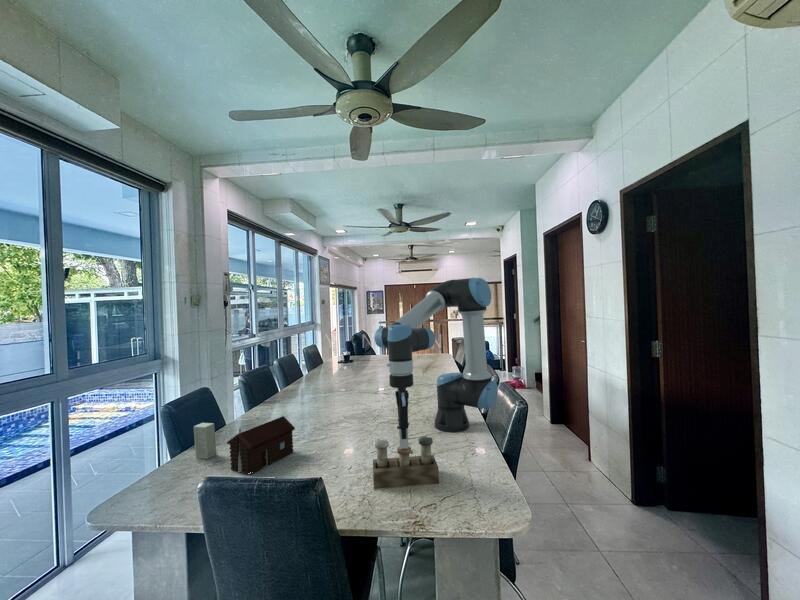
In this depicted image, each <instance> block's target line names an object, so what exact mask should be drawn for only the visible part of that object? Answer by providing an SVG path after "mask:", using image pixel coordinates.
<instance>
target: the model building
mask: <svg viewBox="0 0 800 600" xmlns="http://www.w3.org/2000/svg"><path fill="white" fill-rule="evenodd" d="M295 427H296V426H294V425H293V424H292V423H291V422H290V421H289V420H288V419H287V418H286V416H284V415H283V416H280V417H278V418H275V419H272V420H270V421H268V422H265V423H262V424H259V425H257V426H255V427H251V428H250V429H247V430H245V431H244V430H243V431H242V428H241V427H240V428H238V433H237V434H236V435H235V436H233V437H232V438H230V439H229V440H228V441H227V442H226V444H227V445H229V454H230V455H229V458H230V470H232V471H235V472H238V471H239V472H244V473H243V474H245V473H250V472H251V473H252V472H254V473H255V471H256V472H258V471H260V470H262V469H263V468H265V467H267V466H270V465H272V464H274V463H275V462H277V461H279V460H282V459H283V458H285V457H287V456H290V455H291V454H293V453H294V445H293V444H294V442H293V439H294V438H293V431H294V430H295V429H296V428H295ZM266 465H267V466H266ZM264 466H265V467H264ZM262 467H263V468H262ZM259 469H260V470H259ZM257 470H258V471H257ZM239 472H238V473H239ZM252 474H253V473H252Z"/></svg>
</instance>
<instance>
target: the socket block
mask: <svg viewBox="0 0 800 600" xmlns="http://www.w3.org/2000/svg"><path fill="white" fill-rule="evenodd" d="M409 458H410V466H404V467H400V460H399V457H390V458H389V457H387V461H388V468H378V465H377V458H375V459H374V458H373V459H372V470H373V471H372V476H373V490H376V489H377V490H378V489H387V488H388V489H389V488H400V487H401V488H402V487H412V486H413V487H414V486H423V485H424V486H426V485H438V484H440V475H439V469H440V468H439V466H438V462H437V461H436V459H435V455H434V454H431V461H432V464H430V465H422V462H421V455H417V456H416V455H415V456H409Z"/></svg>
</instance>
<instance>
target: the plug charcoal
mask: <svg viewBox="0 0 800 600" xmlns="http://www.w3.org/2000/svg"><path fill="white" fill-rule="evenodd" d="M418 444H419V445H420V456H421V462H422V465H430V464H432V461H431V455H432V444H433V438H432V437H430V436H423V437H420V438H419V439H418Z"/></svg>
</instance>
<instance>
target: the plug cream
mask: <svg viewBox="0 0 800 600" xmlns="http://www.w3.org/2000/svg"><path fill="white" fill-rule="evenodd" d="M389 445H390V442H389V441H388V440H386V439H380V440H376V441H375V442H374V448H376V459H377V465H378V468H388V461H387V458H388V447H389Z"/></svg>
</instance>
